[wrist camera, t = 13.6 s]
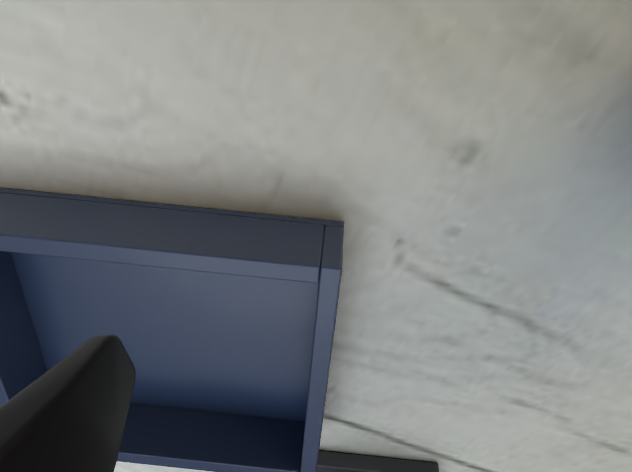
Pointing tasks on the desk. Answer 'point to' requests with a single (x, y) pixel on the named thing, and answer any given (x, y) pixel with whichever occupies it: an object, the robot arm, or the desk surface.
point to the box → (179, 320)
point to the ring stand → (369, 464)
